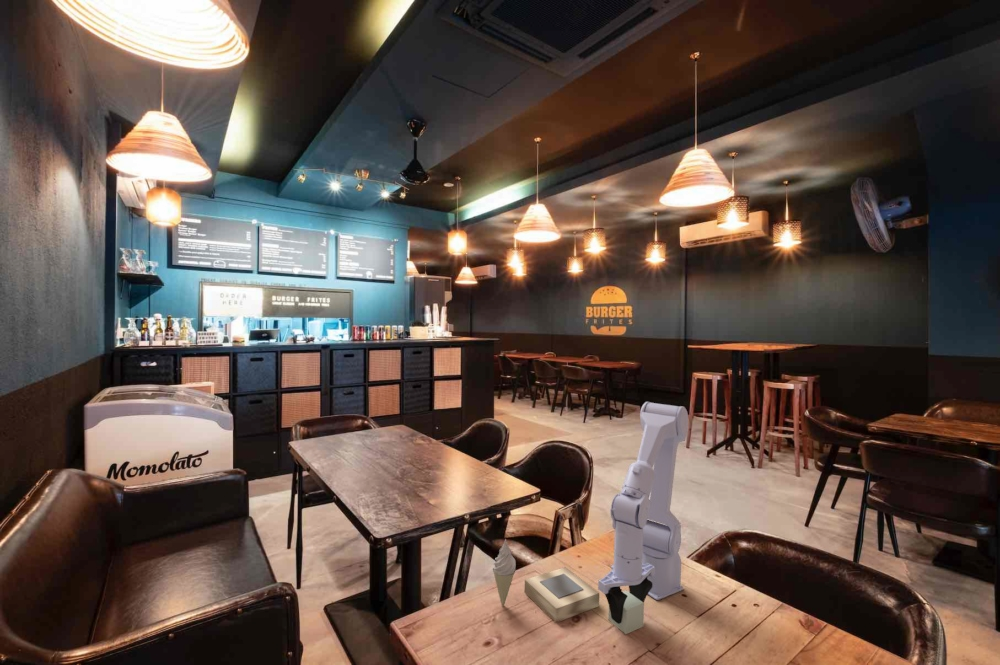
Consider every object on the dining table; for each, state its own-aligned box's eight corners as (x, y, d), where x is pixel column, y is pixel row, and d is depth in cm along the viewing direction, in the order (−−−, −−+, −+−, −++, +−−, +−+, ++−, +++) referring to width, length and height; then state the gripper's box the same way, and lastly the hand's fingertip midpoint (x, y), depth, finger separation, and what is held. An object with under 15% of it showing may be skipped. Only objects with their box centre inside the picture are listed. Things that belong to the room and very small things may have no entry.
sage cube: (625, 612, 98) (626, 590, 98) (643, 626, 94) (644, 602, 94) (608, 619, 96) (609, 596, 96) (625, 634, 92) (626, 610, 91)
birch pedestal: (565, 578, 111) (565, 566, 111) (599, 606, 101) (599, 591, 100) (524, 592, 105) (524, 578, 105) (556, 622, 94) (556, 607, 94)
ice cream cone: (512, 614, 97) (514, 545, 96) (489, 611, 98) (491, 542, 97) (516, 600, 101) (518, 534, 101) (494, 597, 102) (496, 532, 102)
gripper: (637, 537, 102) (635, 596, 102) (589, 552, 94) (586, 615, 95) (663, 551, 96) (661, 614, 96) (613, 568, 88) (610, 636, 89)
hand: (625, 616), depth 95 cm, fingers closed on sage cube, 5 cm apart
